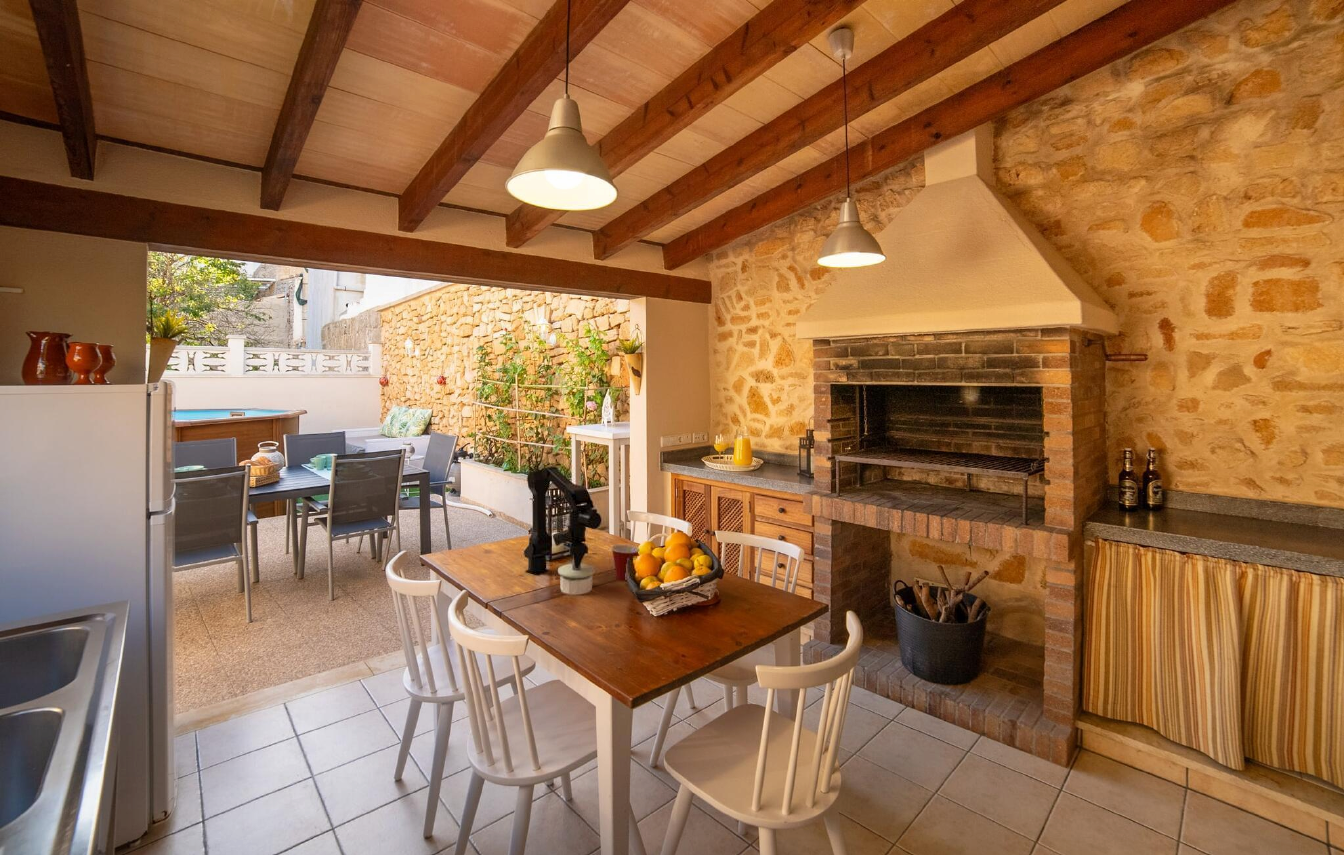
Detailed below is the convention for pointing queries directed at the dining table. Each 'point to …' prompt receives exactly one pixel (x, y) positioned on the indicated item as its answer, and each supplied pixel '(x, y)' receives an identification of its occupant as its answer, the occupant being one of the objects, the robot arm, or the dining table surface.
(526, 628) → the dining table surface
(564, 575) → the lid
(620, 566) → the plastic cup
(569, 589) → the bowl
